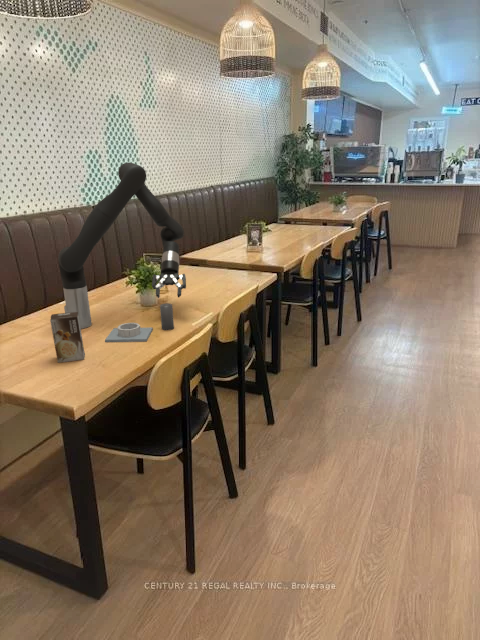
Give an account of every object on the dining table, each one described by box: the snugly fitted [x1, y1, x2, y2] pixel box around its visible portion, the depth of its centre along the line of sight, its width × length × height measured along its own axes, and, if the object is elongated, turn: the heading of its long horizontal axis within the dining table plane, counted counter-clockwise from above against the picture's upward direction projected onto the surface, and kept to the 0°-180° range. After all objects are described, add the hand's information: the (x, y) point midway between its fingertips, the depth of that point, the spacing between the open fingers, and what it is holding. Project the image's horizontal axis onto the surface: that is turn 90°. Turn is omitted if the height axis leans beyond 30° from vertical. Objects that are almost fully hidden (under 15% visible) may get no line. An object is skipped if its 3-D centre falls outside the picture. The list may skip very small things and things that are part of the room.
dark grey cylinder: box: [159, 302, 175, 331], centre depth 190 cm, size 5×5×10 cm
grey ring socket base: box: [104, 322, 154, 343], centre depth 183 cm, size 16×13×4 cm
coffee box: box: [49, 312, 86, 364], centre depth 162 cm, size 9×6×16 cm
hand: (168, 296), depth 194 cm, fingers open, 8 cm apart
